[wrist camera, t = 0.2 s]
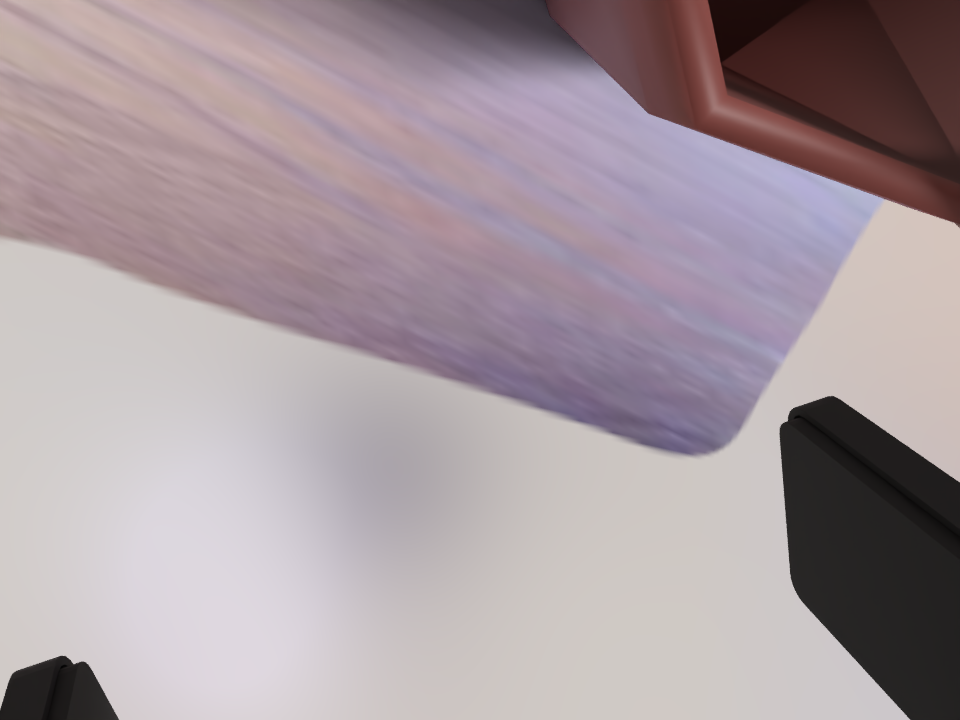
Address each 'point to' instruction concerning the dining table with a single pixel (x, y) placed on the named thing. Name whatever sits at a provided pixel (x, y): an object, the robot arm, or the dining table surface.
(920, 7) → the bucket
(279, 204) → the dining table surface
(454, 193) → the dining table surface
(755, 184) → the dining table surface
